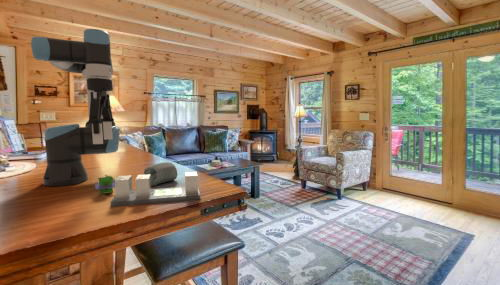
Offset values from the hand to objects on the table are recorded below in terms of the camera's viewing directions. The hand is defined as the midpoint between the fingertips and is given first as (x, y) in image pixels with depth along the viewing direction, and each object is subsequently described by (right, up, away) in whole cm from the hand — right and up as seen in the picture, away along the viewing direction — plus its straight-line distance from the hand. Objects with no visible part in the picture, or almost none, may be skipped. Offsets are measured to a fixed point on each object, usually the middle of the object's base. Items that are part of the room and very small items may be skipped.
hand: (103, 141), depth 92 cm
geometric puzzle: (0, -19, +2) cm, 19 cm away
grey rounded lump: (+15, -17, +16) cm, 28 cm away
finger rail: (+20, -19, -2) cm, 27 cm away
